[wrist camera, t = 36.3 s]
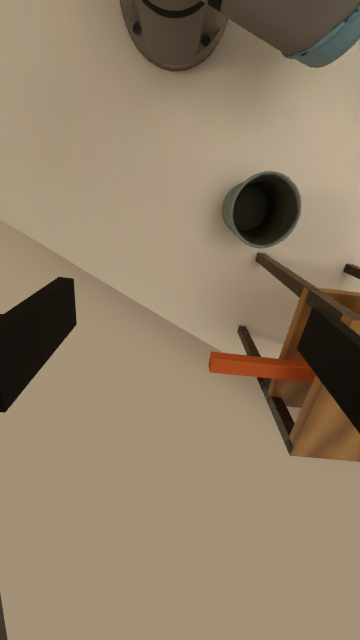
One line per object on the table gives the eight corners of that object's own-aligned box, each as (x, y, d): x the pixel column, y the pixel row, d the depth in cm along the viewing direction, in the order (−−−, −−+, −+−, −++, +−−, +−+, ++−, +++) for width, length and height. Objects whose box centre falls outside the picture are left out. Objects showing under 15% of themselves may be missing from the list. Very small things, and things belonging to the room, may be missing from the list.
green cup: (217, 181, 45) (228, 176, 34) (274, 173, 45) (305, 165, 34) (220, 240, 49) (231, 252, 39) (273, 233, 49) (299, 243, 38)
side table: (237, 331, 58) (289, 455, 30) (257, 252, 50) (352, 320, 22) (321, 341, 59) (447, 469, 31) (353, 264, 51) (559, 344, 24)
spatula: (206, 376, 35) (207, 383, 34) (213, 339, 33) (215, 345, 31) (390, 394, 37) (398, 403, 35) (411, 360, 34) (421, 367, 33)
